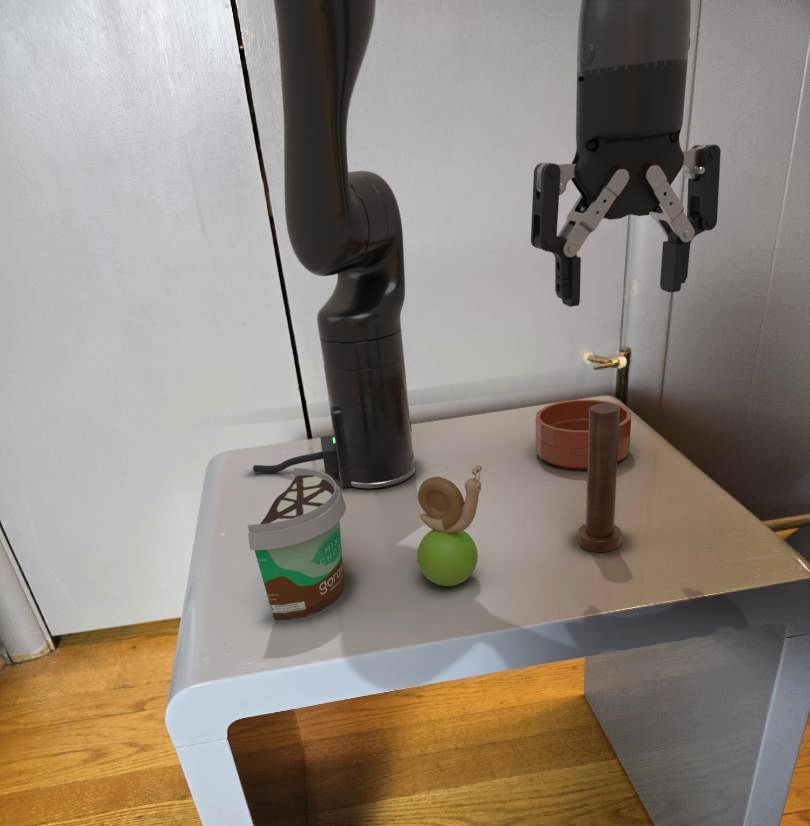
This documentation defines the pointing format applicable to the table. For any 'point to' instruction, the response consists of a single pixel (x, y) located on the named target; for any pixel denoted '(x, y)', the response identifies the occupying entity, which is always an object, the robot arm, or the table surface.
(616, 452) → the muddler
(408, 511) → the table surface
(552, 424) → the bowl
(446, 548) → the snail figurine
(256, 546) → the food container
